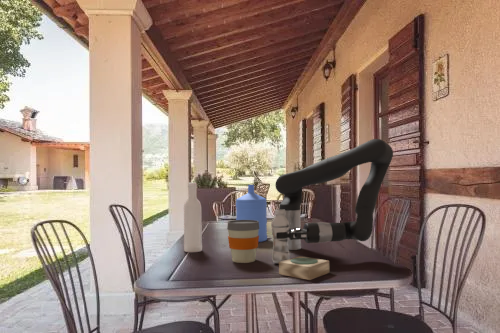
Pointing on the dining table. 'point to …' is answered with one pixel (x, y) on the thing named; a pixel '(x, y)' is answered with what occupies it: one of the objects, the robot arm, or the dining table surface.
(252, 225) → the reusable coffee cup
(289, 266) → the base block
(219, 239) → the dining table surface
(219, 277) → the dining table surface
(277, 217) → the plastic bottle
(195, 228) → the bottle
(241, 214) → the water jug
